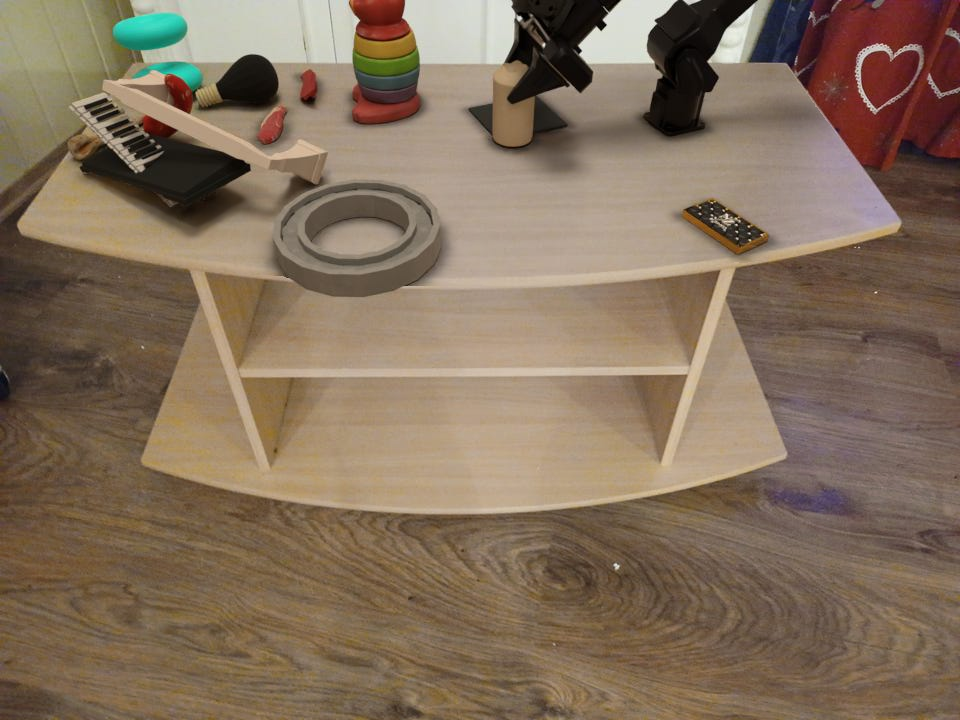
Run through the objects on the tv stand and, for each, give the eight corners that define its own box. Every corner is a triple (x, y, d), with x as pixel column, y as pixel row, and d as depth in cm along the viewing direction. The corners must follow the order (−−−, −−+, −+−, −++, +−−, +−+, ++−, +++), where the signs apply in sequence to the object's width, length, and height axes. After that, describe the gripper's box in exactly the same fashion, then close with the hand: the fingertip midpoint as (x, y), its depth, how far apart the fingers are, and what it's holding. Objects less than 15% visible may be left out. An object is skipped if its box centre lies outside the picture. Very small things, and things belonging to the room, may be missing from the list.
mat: (535, 96, 110) (535, 94, 109) (567, 126, 103) (568, 124, 103) (468, 109, 106) (468, 107, 106) (497, 141, 100) (497, 139, 100)
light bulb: (180, 71, 101) (262, 43, 101) (194, 80, 108) (271, 53, 108) (200, 119, 103) (280, 91, 103) (213, 125, 109) (288, 98, 109)
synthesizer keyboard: (183, 200, 80) (200, 261, 88) (250, 157, 85) (260, 218, 93) (53, 109, 85) (81, 174, 93) (124, 73, 90) (144, 138, 98)
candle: (487, 143, 99) (487, 70, 92) (499, 124, 103) (500, 53, 95) (526, 149, 98) (529, 76, 91) (537, 130, 101) (541, 59, 94)
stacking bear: (352, 90, 110) (337, -38, 98) (419, 88, 111) (413, -40, 99) (352, 125, 103) (336, -10, 90) (424, 122, 104) (418, -12, 91)
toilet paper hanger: (87, 97, 86) (93, 61, 84) (148, 102, 95) (155, 70, 94) (273, 188, 82) (284, 152, 81) (318, 184, 92) (328, 152, 90)
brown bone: (159, 89, 104) (176, 98, 104) (161, 106, 106) (177, 114, 106) (62, 138, 93) (80, 148, 93) (66, 155, 95) (84, 166, 95)
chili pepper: (306, 99, 104) (317, 108, 105) (325, 72, 104) (336, 82, 105) (288, 92, 114) (299, 100, 115) (306, 68, 113) (316, 76, 115)
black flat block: (683, 208, 87) (712, 196, 89) (681, 216, 88) (710, 204, 90) (740, 246, 82) (770, 233, 83) (737, 254, 82) (767, 241, 84)
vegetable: (125, 117, 97) (165, 63, 90) (164, 126, 101) (205, 76, 94) (130, 147, 96) (171, 95, 89) (170, 155, 100) (212, 106, 93)
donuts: (192, 78, 114) (127, 93, 109) (171, 8, 108) (101, 21, 103) (214, 89, 107) (146, 106, 102) (193, 15, 101) (119, 30, 97)
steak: (274, 139, 98) (252, 140, 98) (275, 143, 99) (254, 144, 99) (290, 104, 105) (270, 105, 105) (292, 108, 105) (271, 109, 105)
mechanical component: (473, 252, 82) (473, 230, 80) (330, 320, 74) (326, 298, 72) (383, 184, 92) (381, 163, 90) (249, 238, 84) (243, 216, 81)
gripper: (530, -76, 91) (445, 23, 97) (576, -26, 78) (476, 84, 84) (584, -13, 97) (502, 76, 104) (635, 42, 85) (538, 140, 91)
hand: (503, 91), depth 95 cm, fingers closed on candle, 5 cm apart
